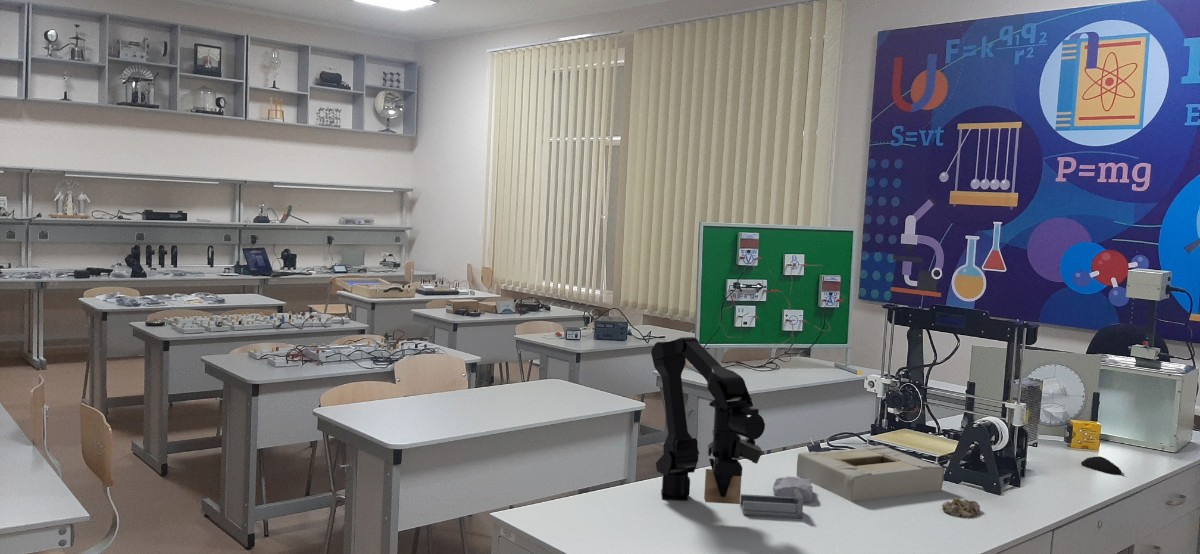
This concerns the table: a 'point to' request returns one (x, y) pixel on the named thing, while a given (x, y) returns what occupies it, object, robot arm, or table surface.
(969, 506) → the mineral rock
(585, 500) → the table surface
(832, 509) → the table surface
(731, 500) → the brown wooden block
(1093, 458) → the black teardrop lump
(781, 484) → the stone block
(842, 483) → the box
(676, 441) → the robot arm
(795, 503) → the floor track
